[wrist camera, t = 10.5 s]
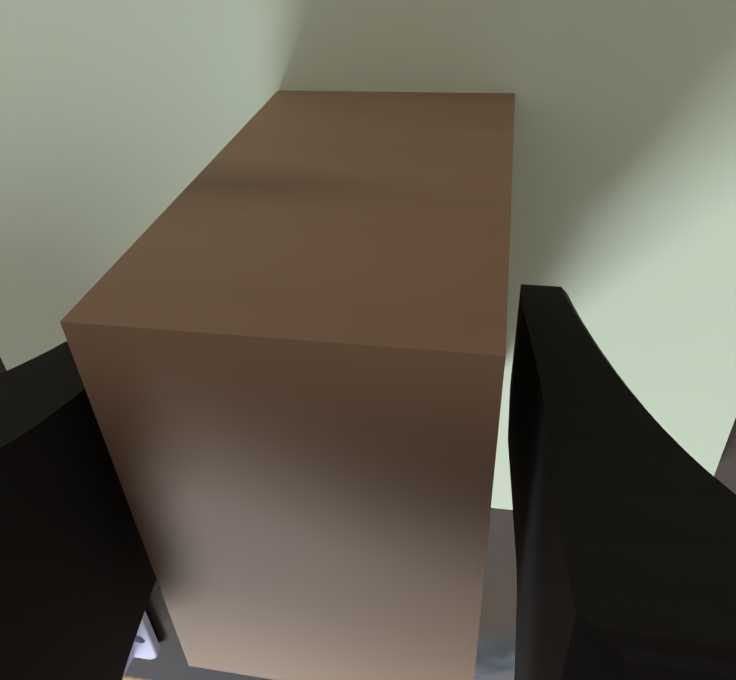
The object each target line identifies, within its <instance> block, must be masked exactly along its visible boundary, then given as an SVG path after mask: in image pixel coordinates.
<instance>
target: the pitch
mask: <svg viewBox="0 0 736 680" xmlns="http://www.w3.org/2000/svg"><path fill="white" fill-rule="evenodd" d="M278 90H285V91H364V92H443V93H515V109H514V137H513V165H512V193H511V221H510V249H509V277H508V305H507V333H506V358H505V368H504V378H503V388H502V399H501V409H500V419H499V429H498V439H497V450H496V460H495V470H494V480H493V490H492V501H491V508H500V509H509V510H513V506H512V492H511V479H510V464H509V450H508V421H509V399H510V382H511V373H512V363H513V354H514V344H515V335H516V325H517V316H518V306H519V297H520V288H521V284H525V285H542V286H559V287H562V288H563V289H564V290H565V292H566V293H567V294H568V296H569V298H570V300H571V302H572V304H573V306H574V308H575V309H576V311H577V313H578V315H579V316H580V318H581V320H582V321H583V323H584V325H585V326H586V328H587V330H588V331H589V333H590V334H591V336H592V338H593V339H594V341H595V342H596V344H597V345H598V347H599V348H600V350H601V351H602V352H603V354H604V355H605V357H606V358H607V359H608V361H609V362H610V364H611V365H612V367H613V368H614V369H615V371H616V372H617V374H618V375H619V376H620V377H621V379H622V380H623V381H624V383H625V384H626V385H627V387H628V388H629V389H630V390H631V392H632V393H633V394H634V395H635V396H636V398H637V399H638V400H639V401H640V402H641V404H642V405H643V406H644V407H645V409H646V410H647V411H648V412H649V413H650V414H651V415H652V416H653V418H654V419H655V420H656V421H657V422H658V423H659V424H660V425H661V426H662V428H663V429H664V430H665V431H666V432H667V433H668V434H669V435H670V436H671V437H672V438H673V439H674V440H675V441H676V442H677V443H678V444H679V445H680V446H681V447H682V448H683V449H684V450H685V451H686V452H687V453H688V454H689V455H690V456H691V457H693V458H694V459H695V460H696V461H697V462H698V463H699V464H700V465H701V466H702V467H704V468H705V469H706V470H707V471H708V472H709V473H710V474H712V475H713V476H714V474H715V471H716V469H717V466H718V463H719V461H720V458H721V455H722V453H723V450H724V447H725V445H726V442H727V439H728V437H729V434H730V431H731V429H732V426H733V423H734V421H735V418H736V0H0V357H1V360H2V362H3V364H4V366H5V368H6V370H10V369H12V368H14V367H16V366H18V365H21V364H23V363H25V362H27V361H29V360H31V359H33V358H35V357H37V356H39V355H41V354H43V353H45V352H47V351H49V350H51V349H53V348H55V347H56V346H58V345H60V344H62V343H64V342H66V341H67V339H66V337H65V334H64V331H63V329H62V326H61V323H60V321H61V320H62V319H63V318H64V317H65V316H66V315H67V314H68V313H69V311H70V310H71V309H72V308H73V307H74V306H75V305H76V304H77V303H78V302H79V301H80V300H81V299H82V298H83V297H84V296H85V294H86V293H87V292H88V291H89V290H90V289H91V288H92V287H93V286H94V285H95V284H96V283H97V282H98V281H99V280H100V279H101V278H102V276H103V275H104V274H105V273H106V272H107V271H108V270H109V269H110V268H111V267H112V266H113V265H114V264H115V263H116V262H117V261H118V259H119V258H120V257H121V256H122V255H123V254H124V253H125V252H126V251H127V250H128V249H129V248H130V247H131V246H132V245H133V244H134V242H135V241H136V240H137V239H138V238H139V237H140V236H141V235H142V234H143V233H144V232H145V231H146V230H147V229H148V228H149V227H150V226H151V224H152V223H153V222H154V221H155V220H156V219H157V218H158V217H159V216H160V215H161V214H162V213H163V212H164V211H165V210H166V209H167V207H168V206H169V205H170V204H171V203H172V202H173V201H174V200H175V199H176V198H177V197H178V196H179V195H180V194H181V193H182V192H183V190H184V189H185V188H186V187H187V186H188V185H189V184H190V183H191V182H192V181H193V180H194V179H195V178H196V177H197V176H198V175H199V173H200V172H201V171H202V170H203V169H204V168H205V167H206V166H207V165H208V164H209V163H210V162H211V161H212V160H213V159H214V158H215V157H216V155H217V154H218V153H219V152H220V151H221V150H222V149H223V148H224V147H225V146H226V145H227V144H228V143H229V142H230V141H231V140H232V138H233V137H234V136H235V135H236V134H237V133H238V132H239V131H240V130H241V129H242V128H243V127H244V126H245V125H246V124H247V123H248V121H249V120H250V119H251V118H252V117H253V116H254V115H255V114H256V113H257V112H258V111H259V110H260V109H261V108H262V107H263V106H264V104H265V103H266V102H267V101H268V100H269V99H270V98H271V97H272V96H273V95H274V94H275V93H276V92H277V91H278Z"/></svg>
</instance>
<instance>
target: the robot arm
mask: <svg viewBox="0 0 736 680" xmlns="http://www.w3.org/2000/svg"><path fill="white" fill-rule="evenodd" d="M508 450H509V464H510V479H511V492H512V506H513V519H514V533H515V547H516V563H517V612H516V649H515V680H736V495H735V494H734V493H733V492H732V491H731V490H729V489H728V488H727V487H726V486H725V485H723V484H722V483H721V482H720V481H719V480H718V479H716V478H715V477H714V476H713V475H712V474H710V473H709V472H708V471H707V470H706V469H705V468H704V467H702V466H701V465H700V464H699V463H698V462H697V461H696V460H695V459H694V458H693V457H691V456H690V455H689V454H688V453H687V452H686V451H685V450H684V449H683V448H682V447H681V446H680V445H679V444H678V443H677V442H676V441H675V440H674V439H673V438H672V437H671V436H670V435H669V434H668V433H667V432H666V431H665V430H664V429H663V428H662V426H661V425H660V424H659V423H658V422H657V421H656V420H655V419H654V418H653V416H652V415H651V414H650V413H649V412H648V411H647V410H646V409H645V407H644V406H643V405H642V404H641V402H640V401H639V400H638V399H637V398H636V396H635V395H634V394H633V393H632V392H631V390H630V389H629V388H628V387H627V385H626V384H625V383H624V381H623V380H622V379H621V377H620V376H619V375H618V374H617V372H616V371H615V369H614V368H613V367H612V365H611V364H610V362H609V361H608V359H607V358H606V357H605V355H604V354H603V352H602V351H601V350H600V348H599V347H598V345H597V344H596V342H595V341H594V339H593V338H592V336H591V334H590V333H589V331H588V330H587V328H586V326H585V325H584V323H583V321H582V320H581V318H580V316H579V315H578V313H577V311H576V309H575V308H574V306H573V304H572V302H571V300H570V298H569V296H568V294H567V293H566V292H565V290H564V289H563V288H562V287H559V286H542V285H525V284H521V288H520V297H519V306H518V316H517V325H516V335H515V344H514V354H513V363H512V373H511V382H510V399H509V421H508ZM155 581H156V576H155V574H154V571H153V568H152V566H151V563H150V560H149V558H148V555H147V552H146V550H145V547H144V544H143V542H142V539H141V536H140V534H139V531H138V528H137V526H136V523H135V520H134V518H133V515H132V512H131V510H130V507H129V504H128V502H127V499H126V496H125V494H124V491H123V488H122V486H121V483H120V480H119V478H118V475H117V473H116V470H115V467H114V465H113V462H112V459H111V457H110V454H109V451H108V449H107V446H106V443H105V441H104V438H103V435H102V433H101V430H100V427H99V425H98V422H97V419H96V417H95V414H94V411H93V409H92V406H91V403H90V401H89V398H88V395H87V393H86V390H85V387H84V385H83V382H82V379H81V377H80V374H79V371H78V369H77V366H76V363H75V361H74V358H73V355H72V353H71V350H70V347H69V345H68V342H67V341H66V342H64V343H62V344H60V345H58V346H56V347H55V348H53V349H51V350H49V351H47V352H45V353H43V354H41V355H39V356H37V357H35V358H33V359H31V360H29V361H27V362H25V363H23V364H21V365H18V366H16V367H14V368H12V369H10V370H7V371H5V372H3V373H1V374H0V680H123V678H124V676H125V674H126V672H127V670H128V668H129V666H130V664H131V661H132V659H133V657H137V658H143V659H154V658H156V657H157V655H158V653H159V651H160V645H159V643H158V641H157V638H156V636H155V633H154V631H153V628H152V626H151V624H150V621H149V619H148V616H147V614H146V611H145V609H146V606H147V603H148V600H149V597H150V594H151V592H152V589H153V586H154V584H155Z"/></svg>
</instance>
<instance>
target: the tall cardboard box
mask: <svg viewBox="0 0 736 680" xmlns="http://www.w3.org/2000/svg"><path fill="white" fill-rule="evenodd" d="M514 109H515V93H443V92H364V91H285V90H278V91H277V92H276V93H275V94H274V95H273V96H272V97H271V98H270V99H269V100H268V101H267V102H266V103H265V104H264V106H263V107H262V108H261V109H260V110H259V111H258V112H257V113H256V114H255V115H254V116H253V117H252V118H251V119H250V120H249V121H248V123H247V124H246V125H245V126H244V127H243V128H242V129H241V130H240V131H239V132H238V133H237V134H236V135H235V136H234V137H233V138H232V140H231V141H230V142H229V143H228V144H227V145H226V146H225V147H224V148H223V149H222V150H221V151H220V152H219V153H218V154H217V155H216V157H215V158H214V159H213V160H212V161H211V162H210V163H209V164H208V165H207V166H206V167H205V168H204V169H203V170H202V171H201V172H200V173H199V175H198V176H197V177H196V178H195V179H194V180H193V181H192V182H191V183H190V184H189V185H188V186H187V187H186V188H185V189H184V190H183V192H182V193H181V194H180V195H179V196H178V197H177V198H176V199H175V200H174V201H173V202H172V203H171V204H170V205H169V206H168V207H167V209H166V210H165V211H164V212H163V213H162V214H161V215H160V216H159V217H158V218H157V219H156V220H155V221H154V222H153V223H152V224H151V226H150V227H149V228H148V229H147V230H146V231H145V232H144V233H143V234H142V235H141V236H140V237H139V238H138V239H137V240H136V241H135V242H134V244H133V245H132V246H131V247H130V248H129V249H128V250H127V251H126V252H125V253H124V254H123V255H122V256H121V257H120V258H119V259H118V261H117V262H116V263H115V264H114V265H113V266H112V267H111V268H110V269H109V270H108V271H107V272H106V273H105V274H104V275H103V276H102V278H101V279H100V280H99V281H98V282H97V283H96V284H95V285H94V286H93V287H92V288H91V289H90V290H89V291H88V292H87V293H86V294H85V296H84V297H83V298H82V299H81V300H80V301H79V302H78V303H77V304H76V305H75V306H74V307H73V308H72V309H71V310H70V311H69V313H68V314H67V315H66V316H65V317H64V318H63V319H62V320H61V321H60V323H61V326H62V329H63V331H64V334H65V337H66V339H67V342H68V345H69V347H70V350H71V353H72V355H73V358H74V361H75V363H76V366H77V369H78V371H79V374H80V377H81V379H82V382H83V385H84V387H85V390H86V393H87V395H88V398H89V401H90V403H91V406H92V409H93V411H94V414H95V417H96V419H97V422H98V425H99V427H100V430H101V433H102V435H103V438H104V441H105V443H106V446H107V449H108V451H109V454H110V457H111V459H112V462H113V465H114V467H115V470H116V473H117V475H118V478H119V480H120V483H121V486H122V488H123V491H124V494H125V496H126V499H127V502H128V504H129V507H130V510H131V512H132V515H133V518H134V520H135V523H136V526H137V528H138V531H139V534H140V536H141V539H142V542H143V544H144V547H145V550H146V552H147V555H148V558H149V560H150V563H151V566H152V568H153V571H154V574H155V576H156V579H157V582H158V584H159V587H160V590H161V592H162V595H163V598H164V600H165V603H166V606H167V608H168V611H169V614H170V616H171V619H172V622H173V624H174V627H175V630H176V632H177V635H178V638H179V640H180V643H181V646H182V648H183V651H184V654H185V656H186V659H187V662H188V664H189V666H194V667H200V668H206V669H212V670H218V671H224V672H230V673H236V674H243V675H249V676H255V677H261V678H267V679H273V680H474V674H475V664H476V654H477V643H478V633H479V623H480V613H481V603H482V592H483V582H484V572H485V562H486V552H487V541H488V531H489V521H490V511H491V501H492V490H493V480H494V470H495V460H496V450H497V439H498V429H499V419H500V409H501V399H502V388H503V378H504V368H505V358H506V333H507V305H508V277H509V249H510V221H511V193H512V165H513V137H514Z"/></svg>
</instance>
